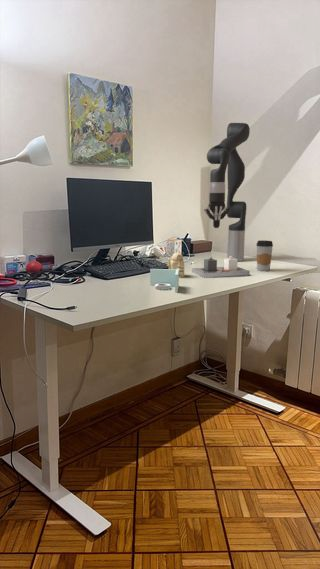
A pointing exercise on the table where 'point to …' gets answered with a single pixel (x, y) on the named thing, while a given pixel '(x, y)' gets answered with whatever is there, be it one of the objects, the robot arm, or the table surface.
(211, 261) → the grey plug
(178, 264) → the robot
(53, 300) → the table surface
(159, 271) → the l-shaped corner panel
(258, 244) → the coffee cup
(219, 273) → the socket plate
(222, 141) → the robot arm
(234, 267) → the white plug
